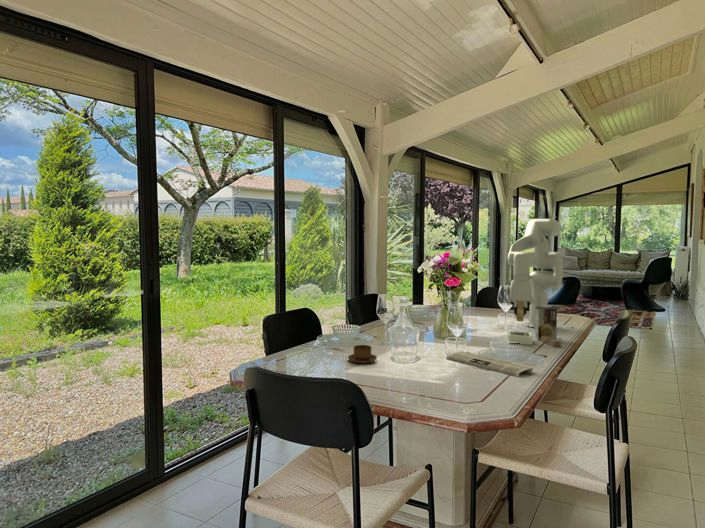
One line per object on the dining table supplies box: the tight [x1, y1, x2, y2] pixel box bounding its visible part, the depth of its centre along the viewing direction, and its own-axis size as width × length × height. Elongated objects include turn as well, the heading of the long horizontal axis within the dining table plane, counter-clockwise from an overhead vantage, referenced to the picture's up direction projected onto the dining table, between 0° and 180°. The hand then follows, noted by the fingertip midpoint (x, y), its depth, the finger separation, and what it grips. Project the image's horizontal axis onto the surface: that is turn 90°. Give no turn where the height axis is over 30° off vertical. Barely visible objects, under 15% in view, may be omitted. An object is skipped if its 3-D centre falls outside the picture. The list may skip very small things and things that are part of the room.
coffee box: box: [534, 306, 558, 341], centre depth 251 cm, size 9×6×16 cm
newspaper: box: [445, 351, 537, 378], centre depth 205 cm, size 35×12×4 cm, turn 41°
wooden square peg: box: [516, 301, 525, 322], centre depth 245 cm, size 3×3×12 cm
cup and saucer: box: [347, 344, 378, 364], centre depth 210 cm, size 12×12×6 cm
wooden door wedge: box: [540, 336, 561, 348], centre depth 241 cm, size 12×3×3 cm, turn 9°
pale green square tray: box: [507, 330, 533, 346], centre depth 246 cm, size 11×11×4 cm
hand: (520, 315), depth 245 cm, fingers closed on wooden square peg, 3 cm apart
